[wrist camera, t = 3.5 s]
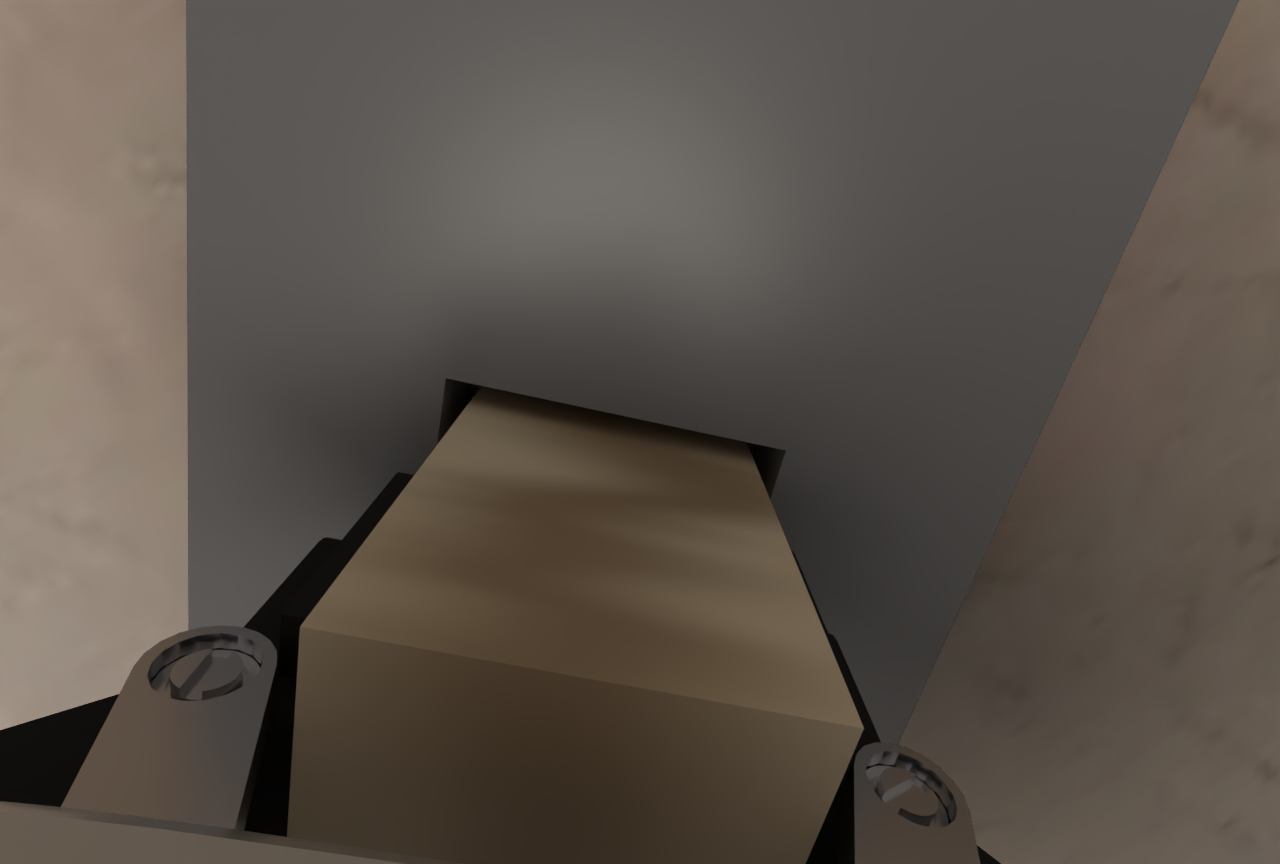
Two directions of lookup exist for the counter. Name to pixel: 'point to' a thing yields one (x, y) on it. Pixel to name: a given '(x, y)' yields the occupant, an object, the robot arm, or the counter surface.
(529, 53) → the grey plate with hole
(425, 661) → the beige rectangular block
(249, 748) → the robot arm
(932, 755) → the counter surface
